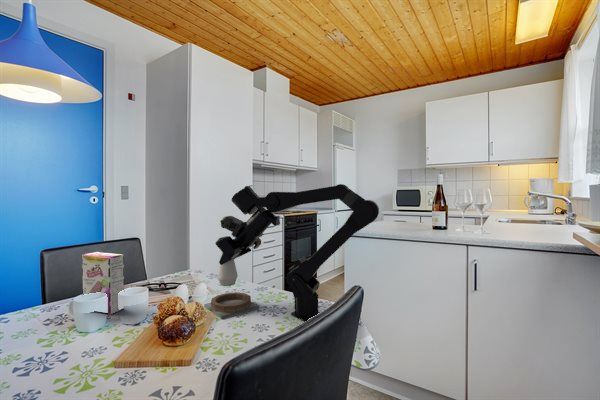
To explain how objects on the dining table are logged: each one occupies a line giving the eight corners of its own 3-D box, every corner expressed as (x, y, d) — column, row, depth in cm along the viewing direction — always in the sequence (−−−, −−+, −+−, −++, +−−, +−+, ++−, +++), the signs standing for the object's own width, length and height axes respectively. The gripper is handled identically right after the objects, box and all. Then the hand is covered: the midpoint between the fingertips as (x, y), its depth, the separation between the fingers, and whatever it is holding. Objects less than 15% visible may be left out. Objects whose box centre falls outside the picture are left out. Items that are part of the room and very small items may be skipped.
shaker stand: (258, 308, 89) (258, 299, 88) (222, 319, 81) (221, 309, 81) (239, 297, 97) (238, 290, 97) (204, 306, 90) (203, 298, 90)
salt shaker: (236, 286, 87) (235, 242, 87) (216, 287, 87) (214, 243, 87) (238, 281, 93) (237, 239, 93) (220, 282, 93) (218, 240, 92)
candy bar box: (81, 310, 87) (80, 254, 87) (98, 304, 92) (97, 251, 91) (109, 315, 83) (109, 257, 83) (125, 309, 88) (124, 253, 88)
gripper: (251, 205, 98) (222, 238, 101) (220, 208, 80) (186, 248, 83) (274, 229, 95) (244, 263, 99) (248, 237, 78) (212, 278, 81)
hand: (223, 262), depth 90 cm, fingers closed on salt shaker, 3 cm apart
